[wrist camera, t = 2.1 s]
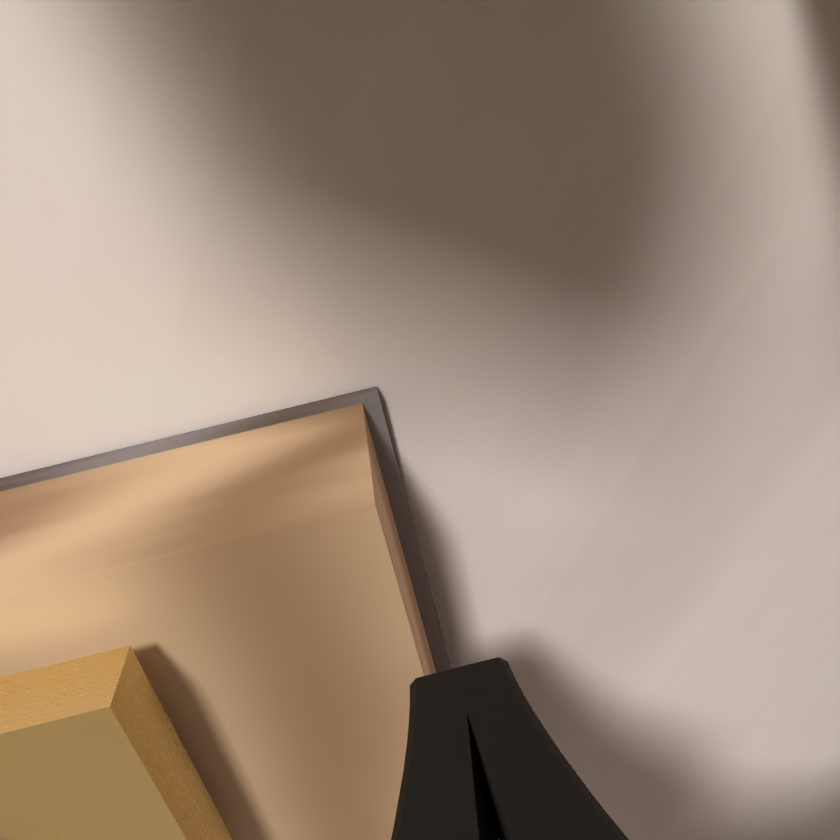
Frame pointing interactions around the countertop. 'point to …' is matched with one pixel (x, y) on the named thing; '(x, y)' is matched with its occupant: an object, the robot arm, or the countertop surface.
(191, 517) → the body
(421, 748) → the robot arm
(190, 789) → the lever cap
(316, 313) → the countertop surface
